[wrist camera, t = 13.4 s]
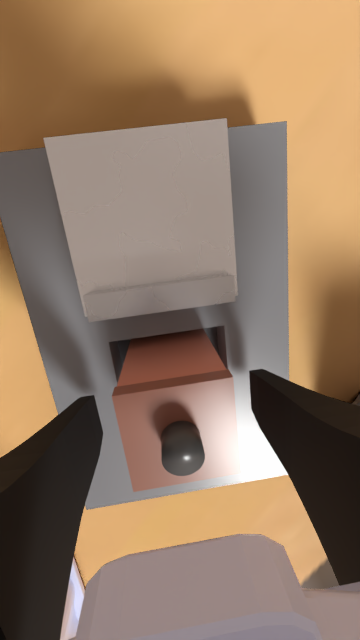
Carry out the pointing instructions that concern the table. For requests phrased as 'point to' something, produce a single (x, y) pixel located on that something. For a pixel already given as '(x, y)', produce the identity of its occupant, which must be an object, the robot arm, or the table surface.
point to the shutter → (147, 217)
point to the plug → (176, 411)
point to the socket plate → (115, 334)
